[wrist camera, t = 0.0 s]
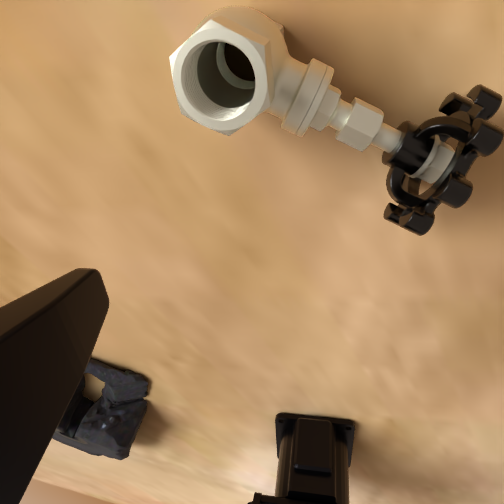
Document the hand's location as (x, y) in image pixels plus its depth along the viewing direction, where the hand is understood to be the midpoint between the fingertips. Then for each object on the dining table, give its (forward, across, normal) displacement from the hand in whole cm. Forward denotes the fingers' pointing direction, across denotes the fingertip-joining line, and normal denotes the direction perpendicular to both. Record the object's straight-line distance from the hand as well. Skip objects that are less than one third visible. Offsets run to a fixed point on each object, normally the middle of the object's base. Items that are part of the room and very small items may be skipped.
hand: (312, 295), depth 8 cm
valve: (+15, 0, -1) cm, 15 cm away
